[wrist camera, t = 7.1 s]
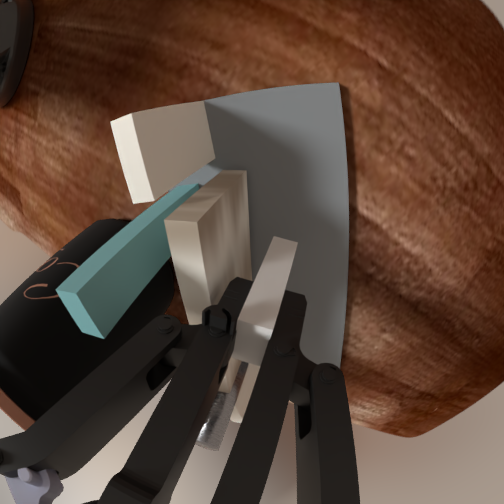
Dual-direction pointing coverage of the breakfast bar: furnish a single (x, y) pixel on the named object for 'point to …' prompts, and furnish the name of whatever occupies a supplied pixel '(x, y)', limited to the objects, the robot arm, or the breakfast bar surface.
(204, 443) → the hinge post
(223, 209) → the gate
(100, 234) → the coffee jar
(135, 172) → the fence
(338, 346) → the mat
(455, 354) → the breakfast bar surface
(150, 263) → the bar
